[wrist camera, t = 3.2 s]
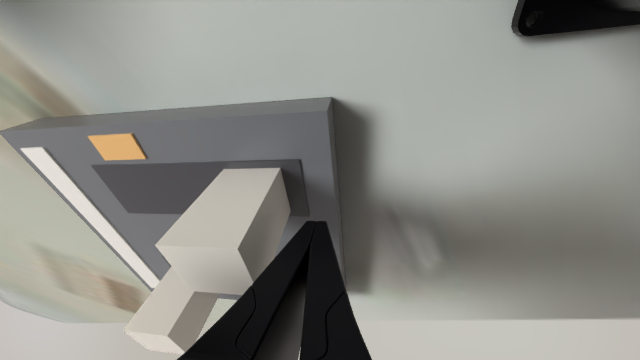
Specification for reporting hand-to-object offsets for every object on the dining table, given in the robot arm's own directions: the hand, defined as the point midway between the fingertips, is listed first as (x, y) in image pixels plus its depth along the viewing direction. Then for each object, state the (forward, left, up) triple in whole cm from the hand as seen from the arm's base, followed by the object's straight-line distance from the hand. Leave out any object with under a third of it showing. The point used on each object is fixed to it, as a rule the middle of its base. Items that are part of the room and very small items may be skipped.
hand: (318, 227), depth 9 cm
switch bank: (+9, +4, -4) cm, 11 cm away
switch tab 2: (+4, 0, -2) cm, 4 cm away
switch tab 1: (+11, +8, -2) cm, 13 cm away
